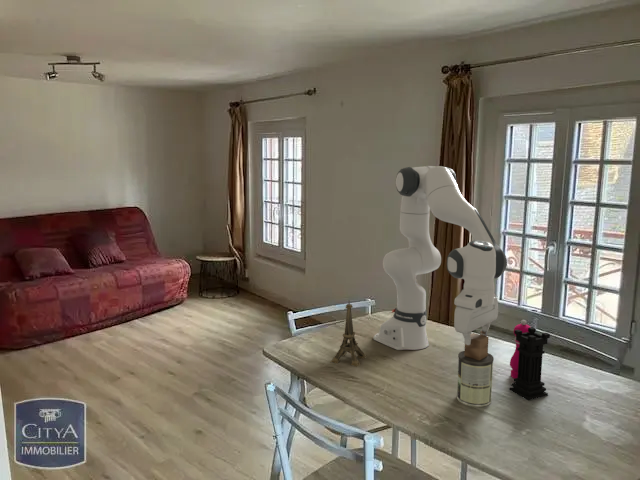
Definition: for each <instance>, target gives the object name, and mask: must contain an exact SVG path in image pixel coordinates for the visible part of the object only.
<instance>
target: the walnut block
mask: <svg viewBox="0 0 640 480" xmlns="http://www.w3.org/2000/svg"><path fill="white" fill-rule="evenodd" d="M470 336H471V338H472V344H470V345H466V344H465V343H464V350H463V351H464V356H466V357H469V358H473V359H476V360H481V359H483V358H485V357H487V356H488V352H489V336H488V335H487V336H483V335H480V333H479V334H478V333H475V332H473V333H471V334H470Z"/></svg>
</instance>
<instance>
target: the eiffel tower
mask: <svg viewBox="0 0 640 480" xmlns="http://www.w3.org/2000/svg"><path fill="white" fill-rule="evenodd" d="M352 308H353V304H351V303H350V301H348V303H347V304H346V305H345V309H346V317H345V324H344V325H345V326H344V333H343V334H342V337H343V339H342V342H341V345H339V347H340V348H339V349H338V351H337V353H336V354H335V355H334V357H333V358H332V359H331V361H330V363H331V362H334V363H333V364H339V362H340V361H341V357H342V355H344V356H347V354H348V353H349V354H350V355H351V363H350V366H351V365H354V366H353V367H357V366H358V367H360V365H361V363H360V361H359V359H363V358H364V359H366V358H367V357H368V356H367V355H366V354H365V353H364V352H363V350H362V349H361V348H360V347H359V345H358V343H357V341H356V338H355V335H356V332H355V331H354V325H353V317H352V316H353V315H352ZM348 341H349V342H348ZM355 353H356V354H357V356H356V354H355ZM365 357H366V358H365Z"/></svg>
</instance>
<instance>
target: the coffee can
mask: <svg viewBox="0 0 640 480" xmlns="http://www.w3.org/2000/svg"><path fill="white" fill-rule="evenodd" d="M464 351H465V350H462V351H460V352H459V353H458V356H457V357H458V361H457V362H458V364H457V365H458V366H457V369H458V370H457V392H456V394H457V395H456V400H458V402H460V403H461V404H463V405H466V406H469V407H473V408H481V407H482V408H483V407H486V406H490V405H491V403H492V393H493V392H492V389H493V388H492V387H493V370H494V369H493V368H494V359H495V358H494V355H492V354H491V353H488V356H487V357H485V358H483V359H481V360H476V359H473V358H469V357H466V356H464Z"/></svg>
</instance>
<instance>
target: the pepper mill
mask: <svg viewBox="0 0 640 480" xmlns="http://www.w3.org/2000/svg"><path fill="white" fill-rule="evenodd" d="M530 327H531V325H529V324H527V320H525V319H522V320H521V321H520V324H517V325H515V326H514V328H513V331H514V330H521V331H522V333H525V332H528V328H530ZM513 335H514V336H515V337H514V343H515V350H514V353H513V354H512V356H511V358H510V361H509V366H510V368H511V370H510V377H511V378H513V380H514V379H515V378H518V361H519V351H518V350H517V348H518V347H519V344H520V342H519V341H517V340H516V334H514V333H513Z"/></svg>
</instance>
